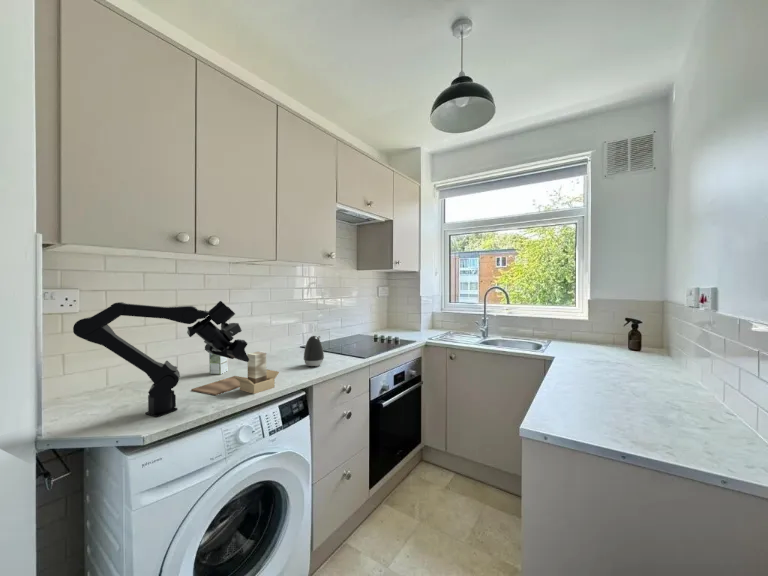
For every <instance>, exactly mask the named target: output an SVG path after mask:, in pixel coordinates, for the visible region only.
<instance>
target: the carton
mask: <svg viewBox="0 0 768 576" xmlns="http://www.w3.org/2000/svg"><path fill="white" fill-rule="evenodd" d="M279 373H280V371H277V370H272V369H269V368H267V380H266V381H263V382H260V383H256V384H254V383H253V382H251V381H250V380H248V379H244V378H240V377H241V376H239V377H236V376H237V375H234V376H235V377H234V378H235V379H237V380H238V381H239V382H240V387H239V390H240V391H241V392H242V391H243V392H246V393H250V394H253V395H255V394H258V393H259V394H260V393H261V392H265V391H268V390H272V389H274V388H275V386H276V385H275V383H276V382H275V380H276V378H277V376H279Z"/></svg>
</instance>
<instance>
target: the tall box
mask: <svg viewBox="0 0 768 576" xmlns="http://www.w3.org/2000/svg"><path fill="white" fill-rule="evenodd" d="M246 354H247V356H248V358H249V361H248V362H247V378H248V380H250V381H251V382H253V383H254V384H256V383H260V382H263V381H266V380H267V369H268V368H267V367H268V366H267V362H268V361H267V352H265V351H255V352H249V353H246Z"/></svg>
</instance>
